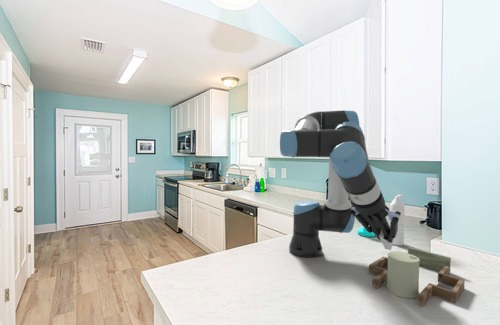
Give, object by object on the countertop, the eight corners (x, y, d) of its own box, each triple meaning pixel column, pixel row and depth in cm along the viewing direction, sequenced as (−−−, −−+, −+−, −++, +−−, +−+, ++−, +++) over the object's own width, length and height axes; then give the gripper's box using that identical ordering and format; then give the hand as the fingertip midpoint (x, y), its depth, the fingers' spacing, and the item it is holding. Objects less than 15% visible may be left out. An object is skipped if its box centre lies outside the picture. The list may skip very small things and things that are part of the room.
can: (424, 300, 79) (425, 262, 79) (392, 296, 81) (393, 259, 81) (411, 285, 88) (412, 251, 88) (383, 282, 90) (383, 249, 90)
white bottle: (401, 246, 127) (402, 197, 127) (387, 243, 132) (388, 195, 131) (406, 242, 133) (407, 195, 133) (392, 239, 138) (394, 194, 138)
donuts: (366, 220, 140) (353, 216, 150) (366, 238, 140) (353, 233, 150) (380, 219, 143) (367, 215, 153) (380, 236, 144) (366, 231, 153)
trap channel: (447, 316, 71) (448, 295, 71) (356, 280, 91) (356, 264, 91) (470, 278, 94) (471, 262, 94) (393, 256, 114) (393, 243, 114)
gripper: (335, 202, 68) (363, 250, 79) (388, 210, 58) (410, 263, 69) (346, 181, 71) (371, 230, 83) (397, 186, 61) (417, 240, 73)
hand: (389, 245), depth 76 cm, fingers closed
